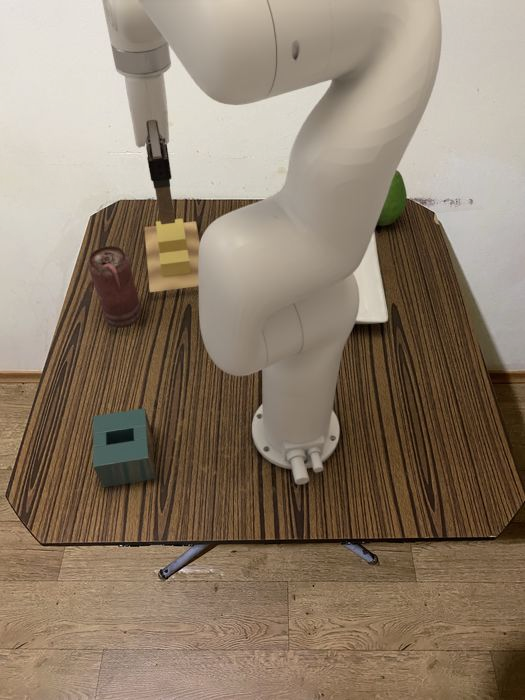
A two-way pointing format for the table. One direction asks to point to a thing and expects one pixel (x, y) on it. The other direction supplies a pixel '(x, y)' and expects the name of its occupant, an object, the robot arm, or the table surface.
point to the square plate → (370, 288)
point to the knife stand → (123, 448)
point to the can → (115, 286)
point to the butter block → (171, 236)
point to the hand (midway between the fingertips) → (160, 172)
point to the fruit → (393, 201)
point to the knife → (164, 201)
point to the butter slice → (174, 263)
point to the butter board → (154, 267)
